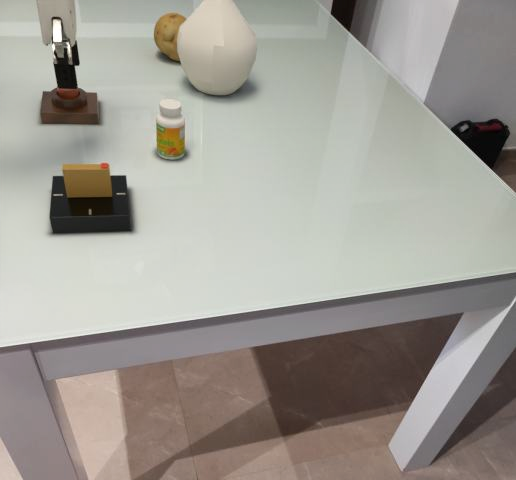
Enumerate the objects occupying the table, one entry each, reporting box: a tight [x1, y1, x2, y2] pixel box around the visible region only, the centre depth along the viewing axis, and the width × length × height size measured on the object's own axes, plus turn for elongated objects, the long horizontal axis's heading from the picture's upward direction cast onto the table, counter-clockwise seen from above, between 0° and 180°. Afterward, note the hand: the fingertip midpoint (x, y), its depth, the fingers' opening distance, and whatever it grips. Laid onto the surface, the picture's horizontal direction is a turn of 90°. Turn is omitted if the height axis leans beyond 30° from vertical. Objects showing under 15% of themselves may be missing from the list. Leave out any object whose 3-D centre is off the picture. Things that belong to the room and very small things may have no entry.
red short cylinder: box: [56, 86, 79, 98], centre depth 104 cm, size 4×4×2 cm
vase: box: [177, 0, 258, 96], centre depth 113 cm, size 18×18×30 cm
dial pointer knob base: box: [49, 174, 132, 234], centre depth 84 cm, size 12×12×3 cm
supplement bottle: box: [155, 98, 186, 161], centre depth 97 cm, size 5×5×10 cm
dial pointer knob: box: [61, 162, 112, 198], centre depth 81 cm, size 7×2×5 cm, turn 102°
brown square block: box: [39, 87, 100, 125], centre depth 106 cm, size 11×10×4 cm
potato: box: [153, 12, 187, 62], centre depth 130 cm, size 10×12×10 cm
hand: (69, 76), depth 89 cm, fingers open, 9 cm apart
